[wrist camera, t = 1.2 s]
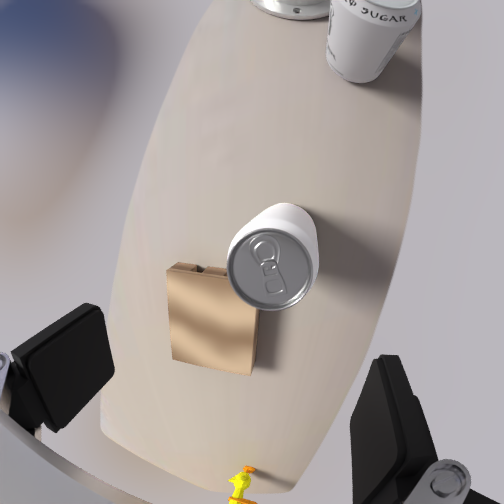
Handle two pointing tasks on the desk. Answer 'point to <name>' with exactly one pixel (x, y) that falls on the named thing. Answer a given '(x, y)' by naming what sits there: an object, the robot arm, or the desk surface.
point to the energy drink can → (367, 35)
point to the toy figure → (241, 486)
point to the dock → (210, 320)
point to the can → (274, 258)
